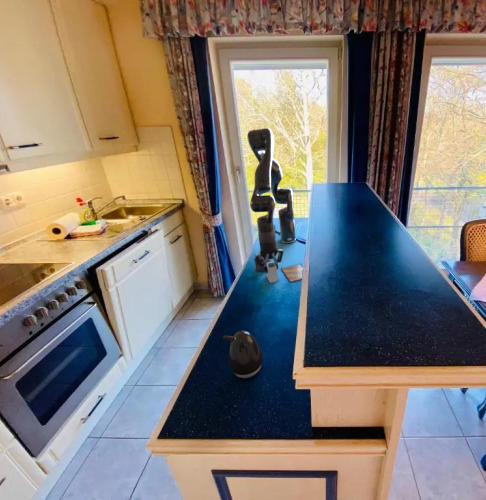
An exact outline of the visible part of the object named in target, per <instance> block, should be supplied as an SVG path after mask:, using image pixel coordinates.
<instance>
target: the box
mask: <svg viewBox="0 0 486 500" xmlns="http://www.w3.org/2000/svg"><path fill="white" fill-rule="evenodd" d="M253 259H254V266H255V271H256V272H265V271H264V267H263V266H262V267H261V266H260V265H259V263H258V261H257V260H256V258H255V257H254V258H253ZM260 261H261V263H263V257H262V256H260ZM268 262H271V259H269V260H268Z"/></svg>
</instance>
